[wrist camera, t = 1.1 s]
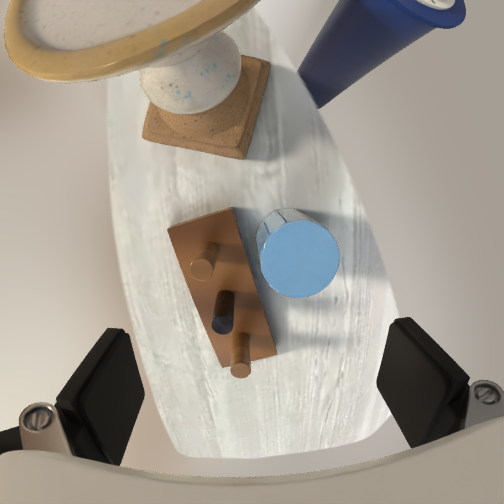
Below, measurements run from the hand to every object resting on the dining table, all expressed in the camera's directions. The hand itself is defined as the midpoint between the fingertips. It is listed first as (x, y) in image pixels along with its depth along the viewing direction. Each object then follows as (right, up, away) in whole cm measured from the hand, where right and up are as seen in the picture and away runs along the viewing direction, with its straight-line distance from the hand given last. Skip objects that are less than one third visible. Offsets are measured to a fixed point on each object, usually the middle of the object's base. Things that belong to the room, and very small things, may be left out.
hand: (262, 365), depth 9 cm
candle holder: (-5, +20, +18) cm, 27 cm away
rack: (-3, -1, +23) cm, 23 cm away
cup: (+3, +5, +22) cm, 23 cm away
